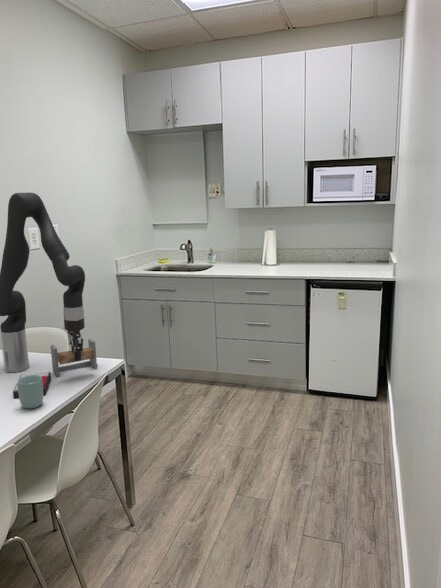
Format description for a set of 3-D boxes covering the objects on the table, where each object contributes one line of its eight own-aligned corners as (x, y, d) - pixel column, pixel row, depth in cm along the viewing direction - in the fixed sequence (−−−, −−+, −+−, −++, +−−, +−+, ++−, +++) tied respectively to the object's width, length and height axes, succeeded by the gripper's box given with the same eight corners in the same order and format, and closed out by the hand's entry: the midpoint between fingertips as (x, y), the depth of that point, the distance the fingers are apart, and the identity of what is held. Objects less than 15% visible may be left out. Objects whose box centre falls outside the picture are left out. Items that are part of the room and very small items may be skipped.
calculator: (12, 390, 157) (20, 372, 171) (13, 401, 158) (21, 382, 172) (44, 387, 160) (50, 370, 174) (45, 398, 161) (51, 379, 175)
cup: (48, 401, 156) (45, 375, 154) (37, 411, 148) (34, 384, 146) (27, 400, 157) (24, 374, 154) (15, 410, 149) (12, 383, 147)
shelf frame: (56, 377, 176) (53, 349, 174) (53, 372, 181) (50, 345, 179) (97, 368, 185) (95, 341, 183) (92, 364, 190) (90, 338, 187)
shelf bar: (60, 364, 169) (59, 356, 168) (57, 361, 172) (57, 353, 171) (94, 358, 176) (94, 350, 175) (91, 355, 179) (91, 347, 178)
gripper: (59, 314, 174) (62, 354, 178) (68, 323, 162) (71, 366, 166) (78, 311, 178) (81, 351, 182) (89, 320, 166) (91, 362, 170)
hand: (76, 358), depth 174 cm, fingers closed on shelf bar, 4 cm apart
